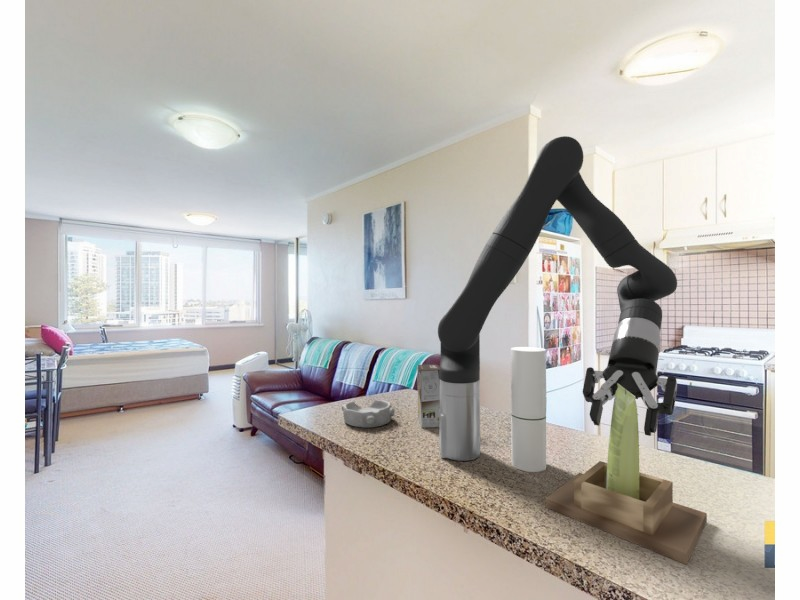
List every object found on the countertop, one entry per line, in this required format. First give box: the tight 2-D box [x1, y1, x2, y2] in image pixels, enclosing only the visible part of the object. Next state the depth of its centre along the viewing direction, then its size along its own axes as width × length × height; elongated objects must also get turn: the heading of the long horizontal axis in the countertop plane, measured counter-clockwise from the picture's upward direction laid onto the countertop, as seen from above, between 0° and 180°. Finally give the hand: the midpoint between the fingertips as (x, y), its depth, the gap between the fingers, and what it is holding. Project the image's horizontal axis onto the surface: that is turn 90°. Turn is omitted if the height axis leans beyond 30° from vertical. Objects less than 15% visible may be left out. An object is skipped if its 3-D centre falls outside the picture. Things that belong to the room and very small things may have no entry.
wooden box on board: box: [545, 460, 708, 565], centre depth 65 cm, size 20×14×6 cm
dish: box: [341, 399, 395, 428], centre depth 115 cm, size 14×14×5 cm
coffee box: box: [416, 363, 440, 429], centre depth 113 cm, size 9×6×16 cm
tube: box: [606, 383, 640, 500], centre depth 65 cm, size 6×5×20 cm
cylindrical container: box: [510, 346, 547, 473], centre depth 84 cm, size 7×7×25 cm
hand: (620, 427), depth 64 cm, fingers open, 7 cm apart
